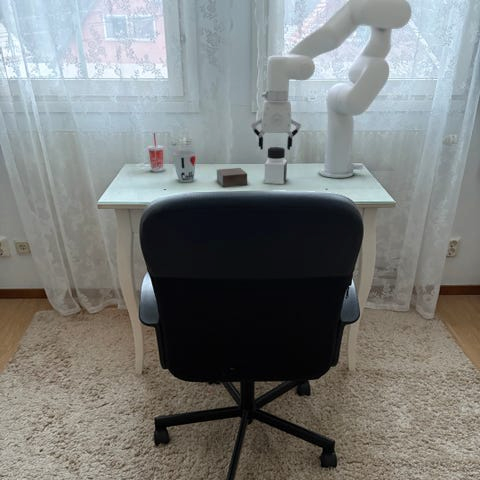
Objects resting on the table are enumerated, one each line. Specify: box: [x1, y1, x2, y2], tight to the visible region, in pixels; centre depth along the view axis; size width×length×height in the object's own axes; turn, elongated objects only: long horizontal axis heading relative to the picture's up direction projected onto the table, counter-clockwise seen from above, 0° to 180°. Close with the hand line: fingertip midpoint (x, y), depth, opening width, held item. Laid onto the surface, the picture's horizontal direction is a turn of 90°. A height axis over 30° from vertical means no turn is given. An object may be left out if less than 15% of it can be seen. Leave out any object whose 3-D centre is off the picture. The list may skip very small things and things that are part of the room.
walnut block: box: [216, 167, 248, 188], centre depth 187 cm, size 9×9×4 cm
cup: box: [172, 149, 197, 183], centre depth 188 cm, size 8×8×10 cm
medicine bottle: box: [264, 146, 288, 185], centre depth 186 cm, size 7×7×12 cm
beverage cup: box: [147, 132, 164, 173], centre depth 200 cm, size 6×6×14 cm
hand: (275, 148), depth 183 cm, fingers open, 9 cm apart
